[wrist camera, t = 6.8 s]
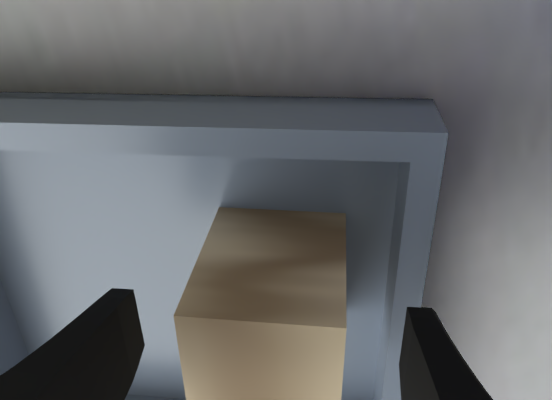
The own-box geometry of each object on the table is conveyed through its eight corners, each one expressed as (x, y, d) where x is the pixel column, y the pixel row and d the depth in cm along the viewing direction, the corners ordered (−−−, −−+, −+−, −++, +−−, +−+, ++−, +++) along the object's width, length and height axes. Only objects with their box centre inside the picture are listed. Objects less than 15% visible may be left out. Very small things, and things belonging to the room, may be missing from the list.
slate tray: (432, 99, 14) (448, 133, 12) (389, 416, 21) (394, 474, 19) (-77, 90, 16) (-143, 119, 14) (35, 386, 23) (2, 436, 20)
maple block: (345, 213, 16) (346, 328, 11) (339, 311, 18) (337, 440, 13) (219, 207, 16) (173, 315, 12) (227, 303, 18) (190, 426, 14)
